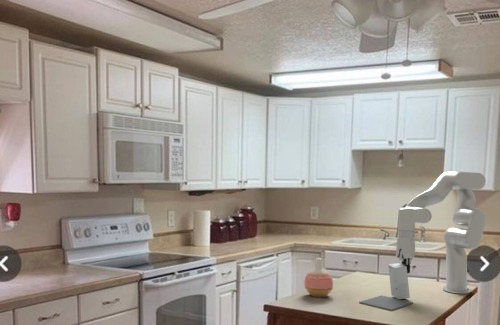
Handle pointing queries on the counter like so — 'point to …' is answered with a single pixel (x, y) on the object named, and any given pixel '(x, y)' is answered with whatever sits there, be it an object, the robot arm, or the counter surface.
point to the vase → (318, 281)
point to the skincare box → (399, 281)
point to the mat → (386, 303)
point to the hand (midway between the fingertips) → (406, 272)
